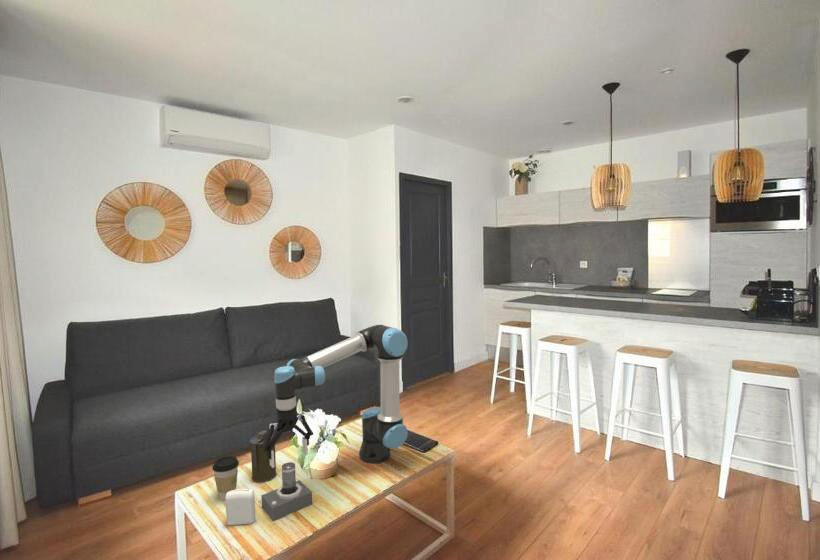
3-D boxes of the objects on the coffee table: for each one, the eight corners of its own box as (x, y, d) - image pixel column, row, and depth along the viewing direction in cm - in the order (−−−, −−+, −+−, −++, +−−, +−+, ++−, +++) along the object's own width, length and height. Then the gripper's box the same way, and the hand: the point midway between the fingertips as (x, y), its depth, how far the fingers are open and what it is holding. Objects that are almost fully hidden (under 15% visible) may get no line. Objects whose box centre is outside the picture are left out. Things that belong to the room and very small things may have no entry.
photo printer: (224, 526, 152) (223, 494, 152) (228, 519, 157) (227, 487, 156) (254, 524, 153) (252, 492, 153) (257, 517, 158) (255, 485, 157)
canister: (262, 468, 193) (260, 426, 191) (281, 472, 189) (279, 429, 188) (245, 481, 182) (243, 436, 181) (265, 485, 179) (263, 439, 177)
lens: (292, 487, 168) (291, 460, 168) (298, 492, 164) (297, 465, 164) (280, 492, 165) (279, 465, 164) (285, 497, 161) (285, 470, 160)
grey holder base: (300, 491, 174) (299, 477, 173) (312, 504, 165) (312, 489, 165) (261, 507, 164) (261, 492, 163) (272, 521, 155) (272, 505, 155)
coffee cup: (245, 494, 172) (243, 459, 171) (223, 506, 164) (221, 470, 163) (231, 487, 178) (229, 452, 177) (209, 498, 170) (207, 462, 169)
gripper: (311, 396, 173) (313, 445, 175) (250, 413, 157) (253, 467, 159) (320, 401, 167) (322, 452, 169) (257, 419, 151) (261, 475, 153)
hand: (289, 459), depth 164 cm, fingers open, 13 cm apart
